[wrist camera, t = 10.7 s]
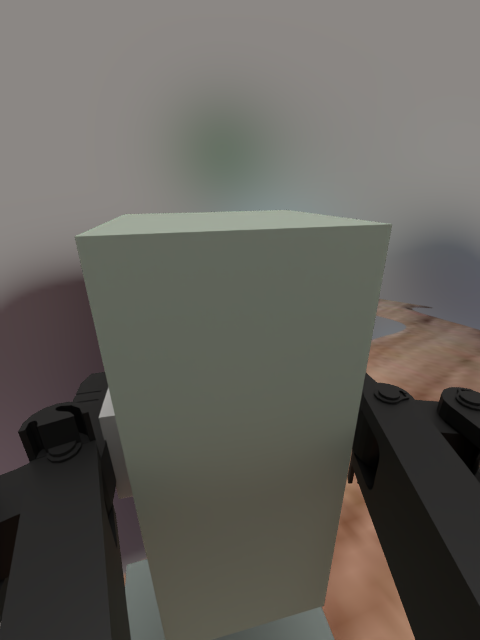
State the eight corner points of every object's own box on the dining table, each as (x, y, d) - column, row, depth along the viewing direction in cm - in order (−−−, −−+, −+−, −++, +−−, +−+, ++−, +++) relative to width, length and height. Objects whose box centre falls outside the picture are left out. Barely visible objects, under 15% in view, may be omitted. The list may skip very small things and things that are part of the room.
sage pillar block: (168, 653, 9) (74, 236, 4) (168, 498, 13) (124, 214, 9) (323, 605, 10) (391, 224, 5) (275, 476, 14) (287, 210, 10)
